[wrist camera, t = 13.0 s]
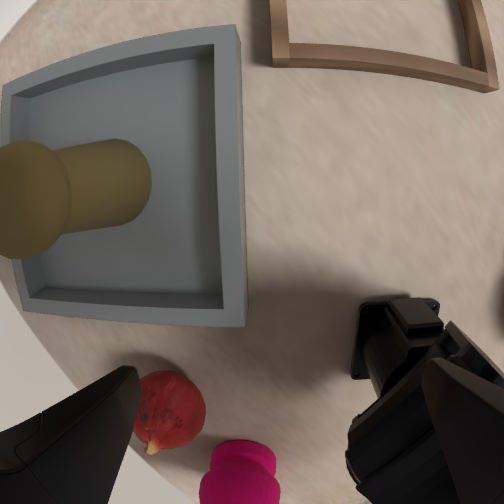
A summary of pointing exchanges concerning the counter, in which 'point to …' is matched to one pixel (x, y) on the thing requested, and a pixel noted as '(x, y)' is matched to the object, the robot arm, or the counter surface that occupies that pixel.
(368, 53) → the frame
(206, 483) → the pepper mill
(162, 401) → the pomegranate
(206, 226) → the gray square tray
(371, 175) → the counter surface
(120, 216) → the olive shaker
